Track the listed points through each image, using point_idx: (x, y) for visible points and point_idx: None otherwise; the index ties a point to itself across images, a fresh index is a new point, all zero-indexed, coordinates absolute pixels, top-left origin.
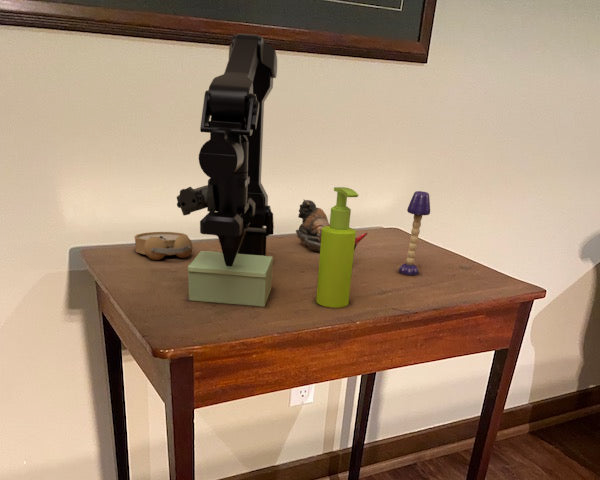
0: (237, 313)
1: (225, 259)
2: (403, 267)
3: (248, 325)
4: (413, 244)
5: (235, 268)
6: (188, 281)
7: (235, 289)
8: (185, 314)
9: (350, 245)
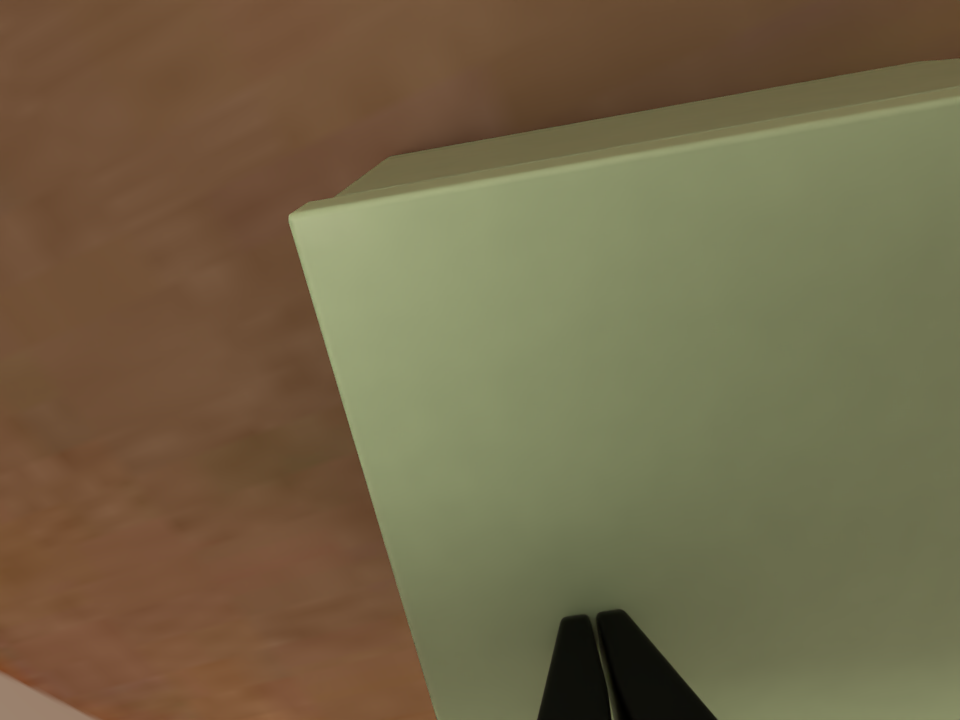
0: (312, 545)
1: (546, 693)
2: None
3: (170, 639)
4: None
5: (513, 703)
6: (364, 175)
7: None
8: (88, 262)
9: None
